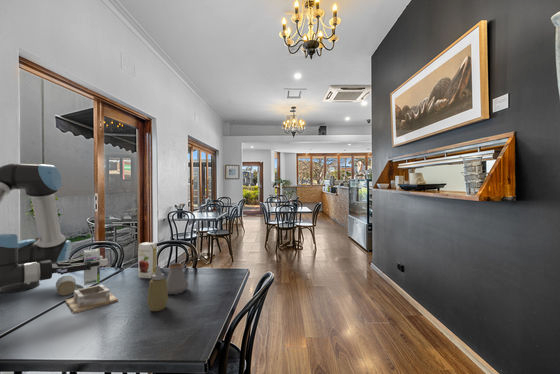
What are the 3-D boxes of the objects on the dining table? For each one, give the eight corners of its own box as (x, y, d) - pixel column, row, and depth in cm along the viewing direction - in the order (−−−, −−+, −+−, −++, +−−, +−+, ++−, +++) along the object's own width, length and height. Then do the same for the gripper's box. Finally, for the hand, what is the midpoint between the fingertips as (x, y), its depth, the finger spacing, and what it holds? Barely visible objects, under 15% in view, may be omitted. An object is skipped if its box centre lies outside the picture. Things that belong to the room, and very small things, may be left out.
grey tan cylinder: (56, 298, 126) (57, 281, 126) (55, 292, 132) (56, 276, 132) (84, 292, 133) (85, 276, 133) (82, 288, 139) (83, 272, 140)
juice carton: (144, 274, 162) (145, 241, 161) (158, 274, 160) (158, 242, 160) (136, 278, 154) (136, 244, 154) (150, 279, 153) (150, 244, 153)
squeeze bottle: (147, 314, 111) (147, 269, 111) (146, 306, 118) (147, 264, 118) (168, 310, 115) (169, 267, 115) (167, 303, 122) (167, 262, 122)
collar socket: (65, 301, 122) (65, 290, 122) (106, 291, 134) (106, 281, 134) (73, 313, 112) (73, 300, 112) (117, 301, 123) (117, 290, 123)
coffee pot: (175, 297, 128) (176, 265, 128) (157, 293, 133) (157, 262, 133) (206, 283, 147) (206, 255, 147) (189, 280, 152) (189, 252, 152)
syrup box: (83, 286, 119) (84, 252, 119) (83, 282, 123) (83, 249, 123) (99, 283, 122) (100, 250, 122) (98, 279, 127) (99, 248, 127)
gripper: (34, 275, 116) (98, 264, 133) (42, 286, 103) (111, 273, 120) (35, 257, 116) (98, 248, 133) (42, 266, 103) (112, 255, 120)
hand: (104, 260), depth 126 cm, fingers closed on syrup box, 6 cm apart
